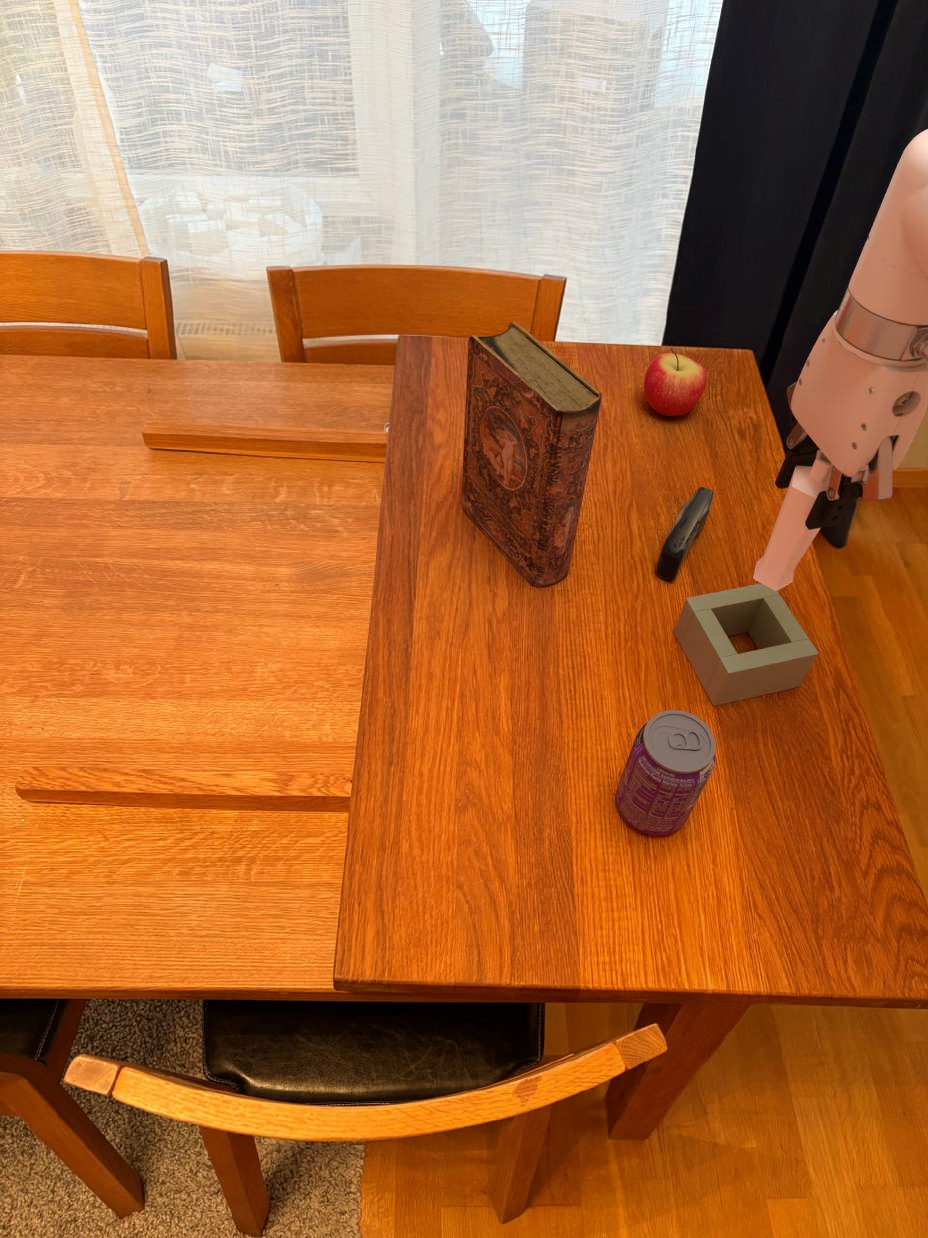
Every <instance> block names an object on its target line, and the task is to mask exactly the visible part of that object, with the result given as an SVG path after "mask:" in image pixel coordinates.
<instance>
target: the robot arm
mask: <svg viewBox="0 0 928 1238" xmlns="http://www.w3.org/2000/svg"><path fill="white" fill-rule="evenodd" d="M786 398H787V403H788V409H789V411H790V412H789V415H788V418H789V426H790V433H789V434H788V435H787V437H786V446H787V448H788V449H789V450H787V453H786V455H785V457H784V459H783V461H782V465H781V467H780V469H779V472H778V473H777V477H776V479H775V481H774V484H775V486H776V488H778V489H781V490H782V489H788V487H789V484H790V481H791V478H792V475H793V473H794V470H795V467H796V466H813V464H814V462H815V459H816V455H817V451H818V450H821V451H822V452H823V453H824V455H825V456H826V457H827V458H828V459H829V461H830V462H831V463H832V464H833V466H832V470H831V474H830V478H829V482H828V486H827V490H826V491H821V492H820V493H819V494H818V496H817V498H816V500H815V502H814V504H813V506H812V509H811V511H810V513H809V515H808V517H807V519H806V521H805V526H806V527H807V528H808V529H809V530H812V529H817V528H820V529H822V528H829V527H834V526H837V525H838V524H840V523H841V522H842V519H843V518H844V516H845V514H846V513H847V510H848V509H849V506H850V504H851V502H852V500H853V499H854V500H855V499H861V500H866V501H873V502H874V501H882V500H887V499H891V498H892V496H893V471H895V470H897V469H898V468H899V467H900V465H901V463H902V462H903V460H904V459H905V457H906V455H907V452H908V451H909V449H910V447H911V445H912V443H913V441H914V438H915V436H916V435H917V432H918V430H919V428H920V426H921V424H922V421H923V419H924V416H925V414H926V411H927V409H928V128H927V129H924V130H923V131H921V132H920V133H918V134H917V135H916V136H914V137H913V138H912V139H911V141H910V142H909V143H908V144H907V146H906V147H905V149H904V150H903V152H902V154H901V157H900V159H899V161H898V162H897V165H896V168H895V170H894V173H893V174H892V177H891V180H890V183H889V185H888V187H887V190H886V193H885V194H884V197H883V199H882V202H881V204H880V207H879V208H878V211H877V214H876V216H875V218H874V221H873V224H872V226H871V229H870V231H869V233H868V236H867V239H866V241H865V243H864V246H863V248H862V251H861V253H860V256H859V258H858V260H857V263H856V266H855V268H854V270H853V273H852V275H851V277H850V280H849V283H848V286H847V288H846V290H845V292H844V295H843V297H842V300H841V301H840V305H839V307H838V309H837V310H836V311H835V312H834V313H833V314H832V316H831V317H830V318H829V320H828V321H827V323H826V325H825V326H824V328H823V329H822V331H821V332H820V334H819V336H818V338H817V340H816V341H815V343H814V345H813V347H812V349H811V351H810V353H809V354H808V357H807V359H806V361H805V363H804V365H803V367H802V370H801V372H800V374H799V377H798V380H797V381H796V382H793V383H792V384H790V385H789V386H787V387H786ZM846 477H848V478H851V480H850V482H846Z"/></svg>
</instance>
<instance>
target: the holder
mask: <svg viewBox="0 0 928 1238" xmlns="http://www.w3.org/2000/svg"><path fill="white" fill-rule="evenodd" d="M745 633H747V634H748V636H749V637H750V639H751V640H752V642H753V643H754V646H755V647H756V649H755V650H750V651H747V652H741V653H738V651H736V649H735V647H734V646H733V644H732V642H731V640H730V639H729V637H731V636H736V635H740V634H745ZM673 634H674V636H675V638H676V640H677V641H678V644H679V645H680V647H681V649H682V651H683V653H684V655H685V656H686V658H687V660H688V662H689V664H690V666H691V667H692V669H693V671H694V673H695V675H696V676H697V677H696V678H698V681H699V682H700V684H701V686H702V688H703V690H704V691H705V693H706V695H707V697H708V699H709V700H710V701H709V702H711V704H712V706H713V707H716V706H720V705H724V704H729V703H734V702H738V701H742V700H747V699H751V698H757V697H760V696H764V695H769V694H773V693H774V694H775V693H779V692H782V691H787V690H792V689H796V688H800V686H801V685H802V683H803V681H804V680H805V678H806V676H807V674H808V672H809V671H810V669H811V668H812V666H813V664H814V663H815V661H816V659H817V658H818V656H819V654H820V653H819V651H818V650H817V648H816V647H815V645H814V644H813V643H812V641H811V639H810V638H809V637H808V635H807V633H806V632H805V630H804V628H803V627H802V626H801V624H800V623H799V620H797V618H796V616H795V615H794V613H793V612H792V611H791V609H790V608H789V606H788V604H787V603H786V601H785V600H784V599H783V597H782V595H781V594H780V593H779V590H777V591H775V590H772V589H771V588H769V587H767V586H765V585H763V584H762V583H760V582H759V583H756V584H751V585H745V586H741V587H735V588H731V589H725V590H720V591H715V592H710V593H705V594H700V595H695V596H690V597H686V598H685V599H684V602H683V605H682V608H681V611H680V613H679V617H678V619H677V622H676V625H675V628H674V630H673Z"/></svg>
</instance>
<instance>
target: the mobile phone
mask: <svg viewBox="0 0 928 1238" xmlns="http://www.w3.org/2000/svg"><path fill="white" fill-rule="evenodd" d="M714 494H715V493H714V490H713V489H710V488H707V487H704V486H700V487H698V488H697V489H696V490H695V491H694V492H693V494H692V495H691V497H690V498H689V499H688V500H687V501H686V502H685V503H684V504H683V506H682V507H681V509H680V511H679V513H678V514H677V516H676V519H675V521H674V523H673V525H672V527H671V528H670V531H669V532H668V535H667V537H666V539H665V541H664V543H663V544H662V548H661V551H660V554H659V557H658V560H657V563H656V567H655V570H656V573H657V575H658V576H659V577H661V578H662V579H664V580H667V581H669V582H672V581H674V580H675V579H676V578H677V575H678V573H679V571H680V569H681V566H682V565H683V563H684V561H685V558H686V557H687V555H688V552H689V550H690V549H691V547H692V545H693V544H694V542H695V541H696V540H697V538H698V537H699V536H700V534H701V532H702V530H703V528H704V526H705V524H706V521H707V518H708V515H709V512H710V509H711V507H712V504H713V503H712V502H713V500H714V499H713V498H714Z"/></svg>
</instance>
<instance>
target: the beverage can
mask: <svg viewBox="0 0 928 1238" xmlns="http://www.w3.org/2000/svg"><path fill="white" fill-rule="evenodd" d="M714 736H715V735H714V734H713V731H712V730H711V729H710V727H709V726H708V725H707V724H706V722H705V721H703V720H702V719H701V718H700V717H698V716H697V715H695V714H693V713H690V712H687V711H684V710H680V709H667V710H663V711H660V712H658V713H656V714H654V715H653V716H652V717H650V719H648V721H647V722H646V723H644V724H643V725H642V726H641V728H640V729H639V730H638V732H637V733H636V735H635V737H634V738H635V739H634V741H633V744H632V746H631V749H630V752H629V755H628V757H627V759H626V763H625V765H624V768H623V771H622V774H621V776H620V779H619V781H618V785H617V788H616V793H615V801H616V805H617V806H616V807H617V808H618V811H619V814H620V815H621V816H622V817H623V819H624V820H625V821H626V822H627V823H628V824H629V825H630V826H631V827H633V828H634V829H636V830H637V831H639V832H641V833H644V834H647V835H652V836H666V835H671V834H673V833H675V832H677V831H679V830H680V829H681V828H682V827H684V825H685V824H686V822H687V821H688V819H689V817H690V815H691V813H692V812H693V809H694V807H695V805H696V804H697V802H698V800H699V798H700V796H701V794H702V792H703V790H704V789H705V787H706V784H707V782H708V781H709V779H710V777H711V775H712V773H713V771H714V768H715V765H716V750H717V749H716V747H717V745H716V739H715V737H714Z"/></svg>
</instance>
